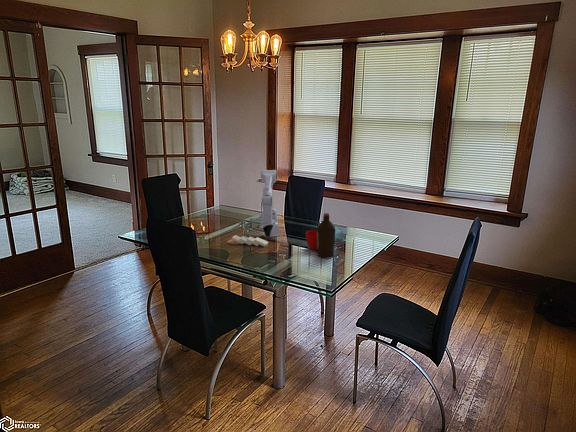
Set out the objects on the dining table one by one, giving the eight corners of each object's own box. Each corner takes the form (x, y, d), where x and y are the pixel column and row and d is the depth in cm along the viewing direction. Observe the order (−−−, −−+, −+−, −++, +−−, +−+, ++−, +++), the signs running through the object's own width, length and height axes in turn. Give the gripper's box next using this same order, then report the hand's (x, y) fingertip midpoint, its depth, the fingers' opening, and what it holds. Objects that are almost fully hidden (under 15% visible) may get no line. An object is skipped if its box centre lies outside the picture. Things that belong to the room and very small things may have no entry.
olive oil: (335, 253, 239) (337, 212, 233) (333, 259, 230) (334, 216, 223) (318, 251, 242) (319, 210, 236) (314, 257, 232) (315, 215, 226)
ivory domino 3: (261, 241, 256) (250, 236, 258) (258, 243, 252) (247, 238, 253) (260, 243, 257) (249, 238, 258) (257, 246, 252) (246, 240, 254)
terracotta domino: (241, 240, 260) (230, 239, 262) (238, 242, 255) (227, 241, 258) (241, 242, 260) (230, 241, 263) (238, 245, 256) (227, 244, 258)
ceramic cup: (321, 242, 258) (321, 227, 256) (329, 251, 242) (330, 235, 240) (301, 244, 256) (301, 229, 253) (308, 253, 240) (309, 237, 237)
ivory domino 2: (254, 240, 257) (243, 236, 259) (251, 243, 253) (239, 238, 254) (253, 243, 258) (242, 238, 259) (250, 245, 253) (239, 240, 255)
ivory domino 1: (246, 239, 259) (235, 234, 261) (243, 242, 254) (231, 237, 256) (245, 242, 260) (234, 237, 261) (242, 244, 255) (231, 239, 257)
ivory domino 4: (268, 242, 255) (257, 237, 256) (265, 244, 250) (254, 239, 252) (267, 244, 255) (256, 239, 257) (264, 246, 251) (253, 241, 252)
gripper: (268, 212, 256) (268, 232, 259) (255, 217, 244) (255, 238, 247) (277, 213, 252) (278, 234, 256) (265, 218, 240) (265, 240, 244)
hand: (267, 236), depth 251 cm, fingers closed
